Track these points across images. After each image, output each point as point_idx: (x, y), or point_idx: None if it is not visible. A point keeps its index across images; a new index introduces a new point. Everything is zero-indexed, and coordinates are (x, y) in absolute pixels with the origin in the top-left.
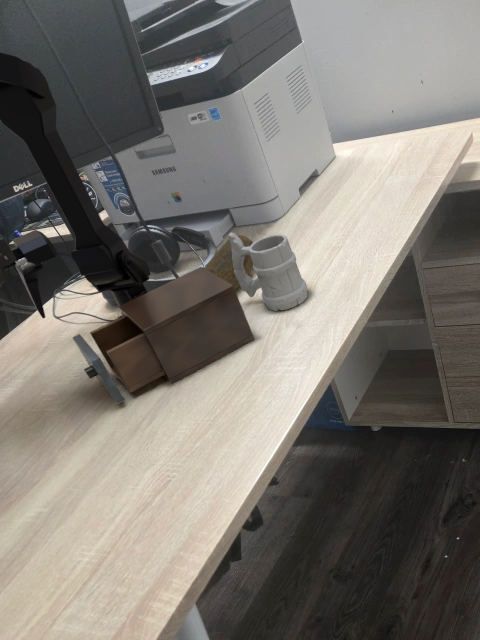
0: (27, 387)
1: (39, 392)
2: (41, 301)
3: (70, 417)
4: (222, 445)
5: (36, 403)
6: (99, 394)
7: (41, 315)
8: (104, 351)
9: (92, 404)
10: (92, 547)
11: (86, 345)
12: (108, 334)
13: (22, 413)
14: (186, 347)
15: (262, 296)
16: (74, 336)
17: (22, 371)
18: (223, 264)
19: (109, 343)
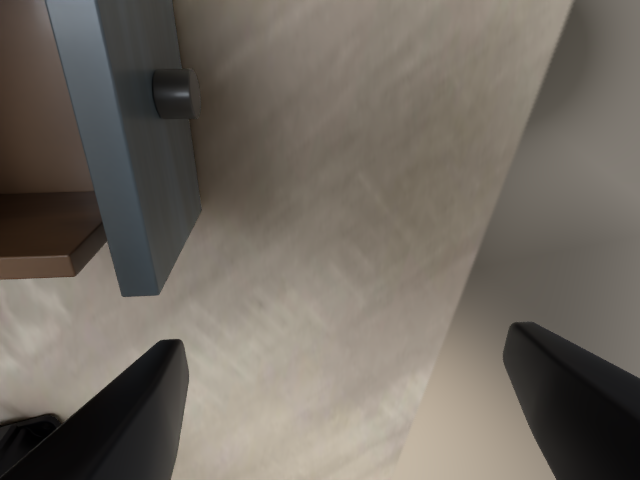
0: (384, 366)
1: (368, 315)
2: (61, 427)
3: (337, 72)
4: None
5: (392, 265)
6: (220, 129)
7: (171, 352)
8: (99, 214)
9: (254, 84)
10: None
11: (89, 127)
12: (17, 239)
13: (438, 249)
14: None
15: None
16: (147, 293)
17: (370, 443)
18: None
19: (53, 222)
